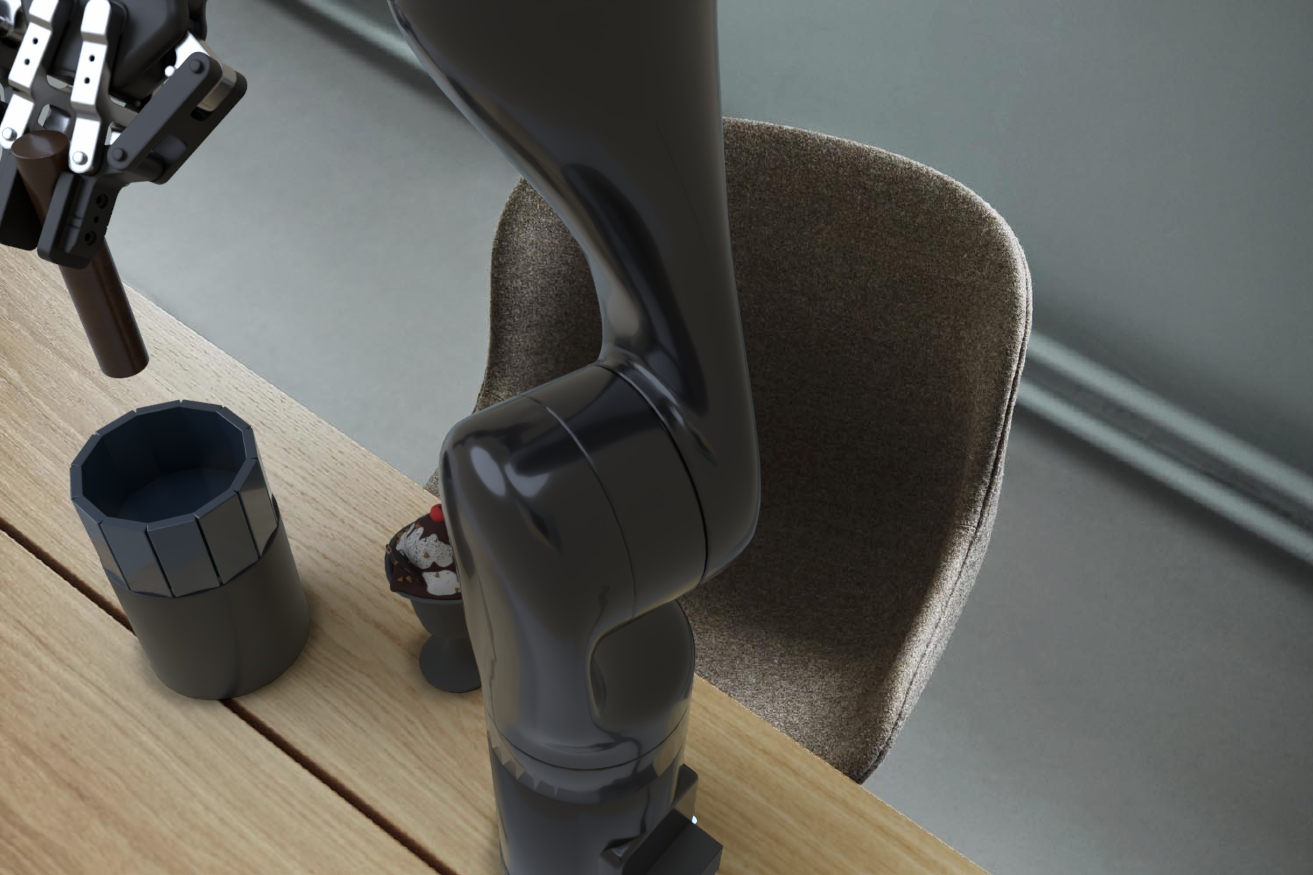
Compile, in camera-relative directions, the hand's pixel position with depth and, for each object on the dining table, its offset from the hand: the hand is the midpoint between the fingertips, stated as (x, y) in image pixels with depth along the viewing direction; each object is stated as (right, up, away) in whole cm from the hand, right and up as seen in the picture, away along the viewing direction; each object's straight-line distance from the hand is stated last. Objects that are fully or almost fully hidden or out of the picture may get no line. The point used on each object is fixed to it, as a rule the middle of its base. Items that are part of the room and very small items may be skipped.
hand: (36, 253), depth 48 cm
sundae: (+14, -21, +23) cm, 34 cm away
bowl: (0, -13, +16) cm, 20 cm away
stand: (0, -20, +23) cm, 30 cm away
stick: (0, -4, +7) cm, 8 cm away
